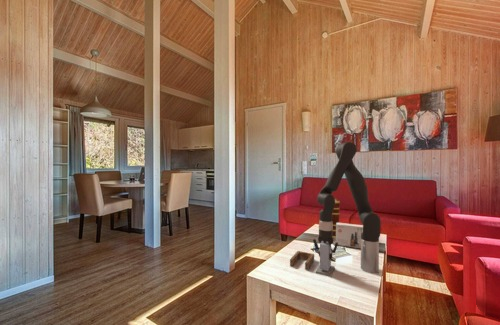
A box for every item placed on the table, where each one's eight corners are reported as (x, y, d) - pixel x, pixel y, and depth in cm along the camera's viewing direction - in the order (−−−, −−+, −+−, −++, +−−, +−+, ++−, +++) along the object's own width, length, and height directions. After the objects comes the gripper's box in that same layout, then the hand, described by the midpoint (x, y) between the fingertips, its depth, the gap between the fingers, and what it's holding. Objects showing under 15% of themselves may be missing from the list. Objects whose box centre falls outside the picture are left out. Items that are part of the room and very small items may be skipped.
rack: (314, 260, 145) (314, 253, 145) (307, 270, 131) (307, 263, 131) (297, 256, 150) (297, 250, 150) (289, 266, 136) (290, 259, 136)
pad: (334, 267, 135) (334, 266, 135) (330, 276, 124) (330, 274, 124) (320, 264, 138) (320, 263, 138) (315, 272, 128) (315, 271, 128)
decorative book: (339, 238, 188) (340, 201, 188) (329, 237, 190) (329, 201, 190) (335, 230, 210) (335, 197, 210) (326, 229, 212) (326, 197, 212)
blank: (330, 264, 134) (331, 240, 134) (328, 271, 126) (328, 245, 126) (323, 263, 136) (323, 239, 136) (319, 269, 128) (319, 243, 128)
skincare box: (335, 245, 172) (336, 224, 172) (336, 242, 177) (336, 222, 177) (367, 249, 164) (367, 227, 164) (366, 246, 169) (366, 225, 169)
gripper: (339, 228, 131) (339, 258, 131) (314, 225, 138) (314, 253, 138) (338, 232, 125) (337, 263, 125) (311, 228, 131) (311, 258, 131)
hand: (325, 258), depth 131 cm, fingers closed on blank, 4 cm apart
